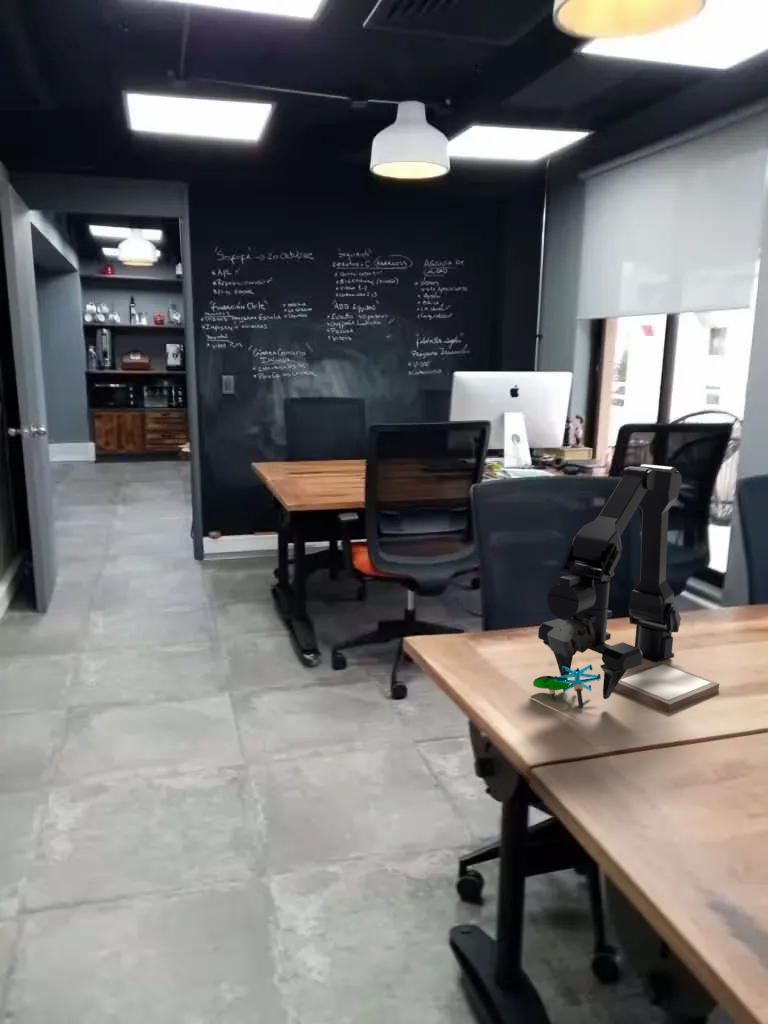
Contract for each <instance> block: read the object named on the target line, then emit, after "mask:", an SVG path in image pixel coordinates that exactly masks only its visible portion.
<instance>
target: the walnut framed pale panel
mask: <svg viewBox="0 0 768 1024" xmlns="http://www.w3.org/2000/svg"><path fill="white" fill-rule="evenodd" d="M719 688H720V683H718V682H715V681H713V680H710V679H708V678H705V677H702V676H700V675H697V674H695V673H692V672H689V671H687V670H684V669H682V668H679V667H677V666H673V665H671V664H667V663H665V662H662V661H660V662H657V663H656V664H652V665H650V666H647V667H644V668H642V669H641V668H640V669H638V670H636V671H632V672H630V673H628V674H623V676H622V677H621V679H620V680H619V682H618V684H617V685H616V687H615V688H614V690H615V691H617V692H619V693H622V694H624V695H627V696H629V697H631V698H632V699H636V700H638V701H640V702H642V703H644V704H647V705H649V706H652V707H654V708H657V709H659V710H662V711H664V712H666V713H668V714H669V713H670V714H671V713H672V712H674V711H677V710H679V709H680V708H683V707H685V706H688V705H691V704H692V703H695V702H697V701H700V700H701V699H704V698H707V697H708V696H711V695H713V694H716V693H717V692H719Z"/></svg>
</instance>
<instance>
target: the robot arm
mask: <svg viewBox="0 0 768 1024" xmlns="http://www.w3.org/2000/svg"><path fill="white" fill-rule="evenodd" d="M620 477H621V478H620V480H619V482H618V484H617V486H616V487H615V488H614V490H613V492H612V493H611V495H610V497H609V498H608V500H607V502H606V503H605V504H604V507H603V508H602V510H601V512H600V513H599V514H598V516H597V517H596V519H594V520H593V521H590V522H589V523H586V524H584V525H583V526H582V527H581V529H580V530H579V531H578V532H577V533H576V535H575V536H574V538H573V539H572V540H571V542H570V545H569V547H568V549H567V552H566V555H565V557H564V559H563V562H562V565H561V568H560V571H559V573H561V574H566V575H563V576H560V577H559V579H558V581H559V582H558V584H556V585H554V586H553V587H551V588H550V590H549V592H548V594H547V597H546V602H547V606H548V608H549V610H550V612H551V613H552V614H553V615H554V616H555V617H557V618H556V619H552V620H548V621H545V622H542V623H541V624H540V626H539V627H538V629H537V630H538V633H537V634H538V635H537V637H538V639H539V640H542V642H543V644H544V645H545V646H547V647H548V648H549V649H550V650H551V651H552V652H553V655H554V657H555V660H556V663H557V668H558V670H559V674H560V676H563V675H568V674H570V673H569V672H568V671H566V670H565V672H563V667H562V666H565V667H567V668H569V669H571V670H572V668H571V666H572V662H573V658H574V655H576V653H577V652H579V653H581V654H584V652H586V651H587V650H588V649H589V651H590V650H591V651H593V652H595V653H597V654H600V655H601V661H602V663H603V664H601V665H600V668H601V669H602V671H603V685H602V698H603V699H604V700H608V699H609V698H610V697H611V696H612V693H613V692H614V690H615V689H614V688H615V687H616V685H617V684H618V682H619V680H620V679H621V677H622V676H624V675H625V673H626V672H627V671H628V670H630V669H632V668H635V667H638V666H641V665H643V659H645V660H648V661H651V662H652V663H653V662H654V663H660V662H662V661H665V660H667V659H670V658H673V657H674V656H675V652H673V645H674V644H673V642H674V637H673V636H672V635H673V633H678V632H679V630H680V629H679V628H680V626H681V621H682V617H681V615H680V613H679V611H678V608H677V606H676V604H675V594H674V591H673V589H672V586H671V585H670V584H669V582H668V581H667V557H668V555H667V554H668V536H669V535H668V531H669V513H670V512H669V510H670V509H671V507H672V506H673V504H674V503H675V502H676V500H678V497H679V491H680V490H681V487H682V481H683V479H682V475H681V473H680V472H679V471H678V470H677V468H676V467H674V466H668V465H667V466H665V465H657V464H649V463H648V464H647V463H642V464H641V465H640V466H630V465H629V466H627V467H626V466H625V467H624V469H623V470H622V472H621V476H620ZM638 507H639V508H640V510H641V514H642V515H641V540H640V541H641V544H640V546H641V547H640V571H639V572H640V577H639V582H638V583H637V585H635V587H634V588H633V590H631V591H630V592H629V601H628V605H627V606H628V607H627V608H628V615H629V616H628V617H629V618H628V619H629V624H631V625H636V626H635V638H634V645H632V644H629V643H626V642H624V641H623V642H620V643H615V644H612V645H611V644H608V643H606V642H607V641H609V640H611V635H612V634H611V633H609V632H607V624H608V619H610V618H612V617H613V610H609V599H610V589H611V588H610V587H611V578H612V577H614V576H615V572H614V571H615V568H616V566H617V564H618V562H619V560H620V559H621V555H622V554H621V553H622V550H623V545H622V540H621V537H622V535H623V533H624V531H625V529H626V528H627V526H628V524H629V523H630V521H631V518H632V517H633V516H634V514H635V512H636V511H637V509H638ZM565 679H568V680H569V678H565Z"/></svg>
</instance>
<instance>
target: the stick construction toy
mask: <svg viewBox="0 0 768 1024" xmlns="http://www.w3.org/2000/svg"><path fill="white" fill-rule="evenodd" d="M562 667H563V672H565V670H566V671H568V672H569V674H568V675H563V676H561V675H559V676H557V675H555V676H552V675H543V676H540V677H537V678H535V679H534V680H533V681H532V686H533V687H535V688H538V689H545V690H546V689H547V690H549V695H550V698H551V700H552V701H555V700H556V697H555V695H556V691H560V690H561V691H562V692H563V693H566V692H567V691H569V690H571V689H572V688H573V689H574V692H576V696H577V704H578V709H579V710H580V709H581V710H582V709H584V702H583V694H582V691H584V689H586V690H587V691H590V692H591V691H592V685H590V684H589V685H587V684H585V683H590V682H591V683H592V682H596V681H598V682H599V681H600V680H602V678H601V674H600V673H598V674H592V673H591V674H590V673H585V672H586V671H588V670H590V671H593V665H592V664H589V665H587V666H585V667H583V668H581V669H580V668H576V669H572V668H571V669H569V668H567V667H565V666H562ZM565 678H568V679H565ZM571 678H574V680H573V679H571ZM581 678H585V679H581Z"/></svg>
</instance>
